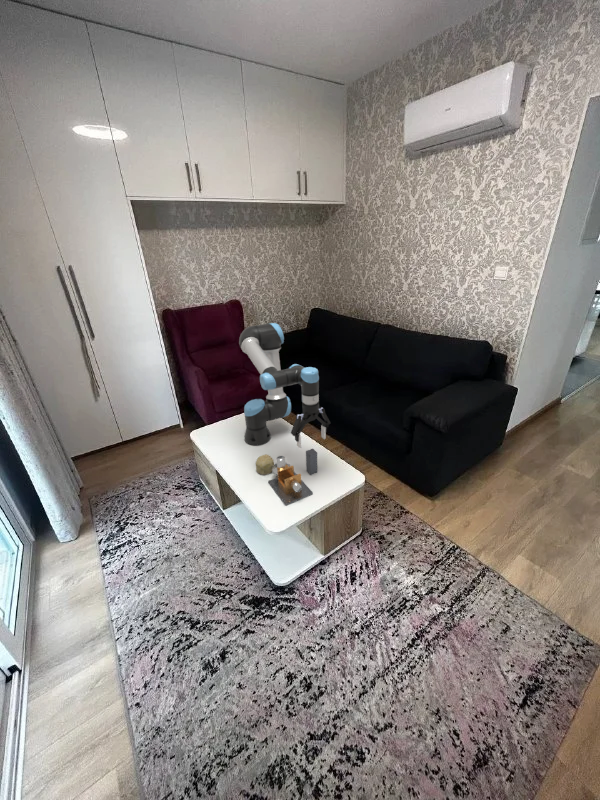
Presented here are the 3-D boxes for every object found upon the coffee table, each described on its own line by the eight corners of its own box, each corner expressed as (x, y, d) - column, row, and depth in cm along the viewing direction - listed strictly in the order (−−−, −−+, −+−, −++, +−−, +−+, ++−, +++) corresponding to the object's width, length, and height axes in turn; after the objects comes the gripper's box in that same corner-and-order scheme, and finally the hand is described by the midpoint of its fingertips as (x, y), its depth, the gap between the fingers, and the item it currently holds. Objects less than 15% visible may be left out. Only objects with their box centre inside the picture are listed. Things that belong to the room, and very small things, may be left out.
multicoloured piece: (265, 478, 160) (263, 458, 155) (290, 469, 166) (289, 449, 161) (285, 505, 143) (283, 484, 138) (312, 494, 149) (312, 473, 144)
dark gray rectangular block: (306, 470, 165) (305, 451, 159) (313, 468, 166) (312, 448, 161) (310, 475, 162) (310, 455, 156) (317, 472, 163) (317, 452, 158)
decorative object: (262, 482, 164) (271, 471, 158) (248, 467, 165) (256, 456, 160) (272, 472, 171) (281, 461, 166) (259, 459, 173) (267, 448, 167)
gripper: (289, 412, 139) (292, 454, 148) (338, 398, 149) (337, 438, 158) (281, 405, 145) (284, 446, 154) (329, 392, 155) (328, 431, 164)
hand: (311, 442), depth 156 cm, fingers open, 13 cm apart
